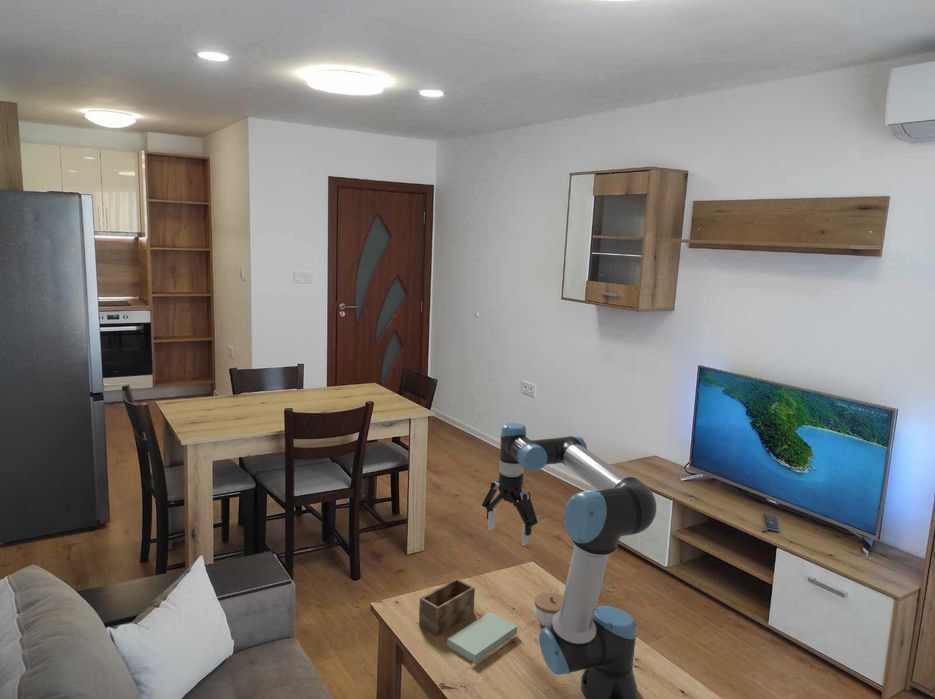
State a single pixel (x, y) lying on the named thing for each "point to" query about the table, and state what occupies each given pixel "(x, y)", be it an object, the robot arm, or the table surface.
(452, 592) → the box
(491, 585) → the table surface
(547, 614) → the lidded jar
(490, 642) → the lid
